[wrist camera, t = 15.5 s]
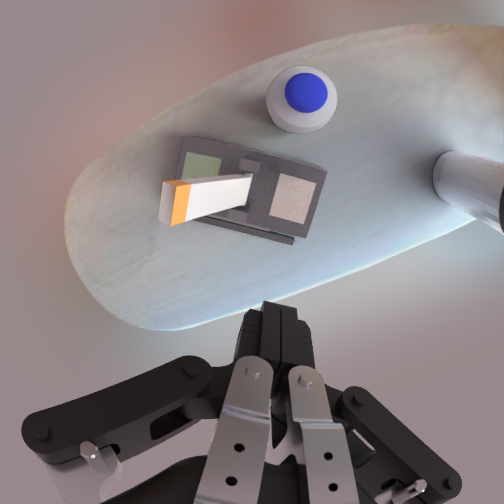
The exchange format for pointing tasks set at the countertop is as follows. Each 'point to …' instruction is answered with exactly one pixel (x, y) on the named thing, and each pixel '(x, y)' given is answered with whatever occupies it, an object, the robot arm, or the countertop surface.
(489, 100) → the countertop surface
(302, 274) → the countertop surface
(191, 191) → the lever
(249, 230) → the dark grey bar
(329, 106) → the bottle
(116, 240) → the countertop surface
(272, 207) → the switch box
